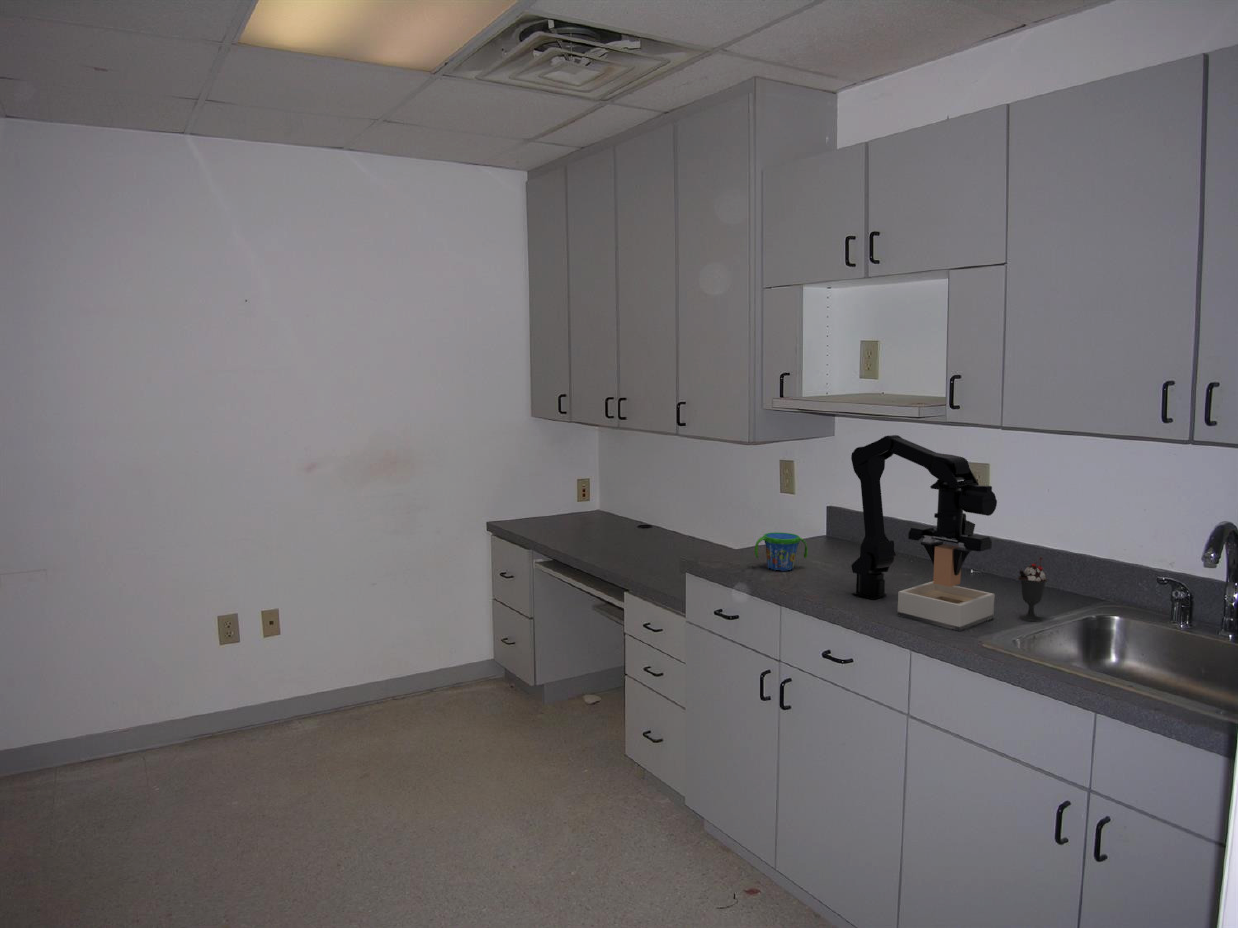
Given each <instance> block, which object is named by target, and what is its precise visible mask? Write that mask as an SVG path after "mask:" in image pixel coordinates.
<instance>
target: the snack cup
mask: <svg viewBox="0 0 1238 928" xmlns="http://www.w3.org/2000/svg"><path fill="white" fill-rule="evenodd" d="M762 541H764V544H765V545H764V546H765V555H766V562H767V564H766V565H767V568H768V569H769V568H771V569H770V570H772V569H774V570H773V571H776V570H781V571H780V572H785V571H788V570H790V571H791V569H792V570H793V569H794V566H795V562H796V555H797V551H798V546H799V543H800V541H801V542H802V543H803V544H804V547H805V548H804V553H803V558H804V559H807V558H808V553H809V548H808V545H807V542H806V540H804V539H803V538H801V537H800V536H799V535H798V534H796V533H791V532H778V531H777V532H776V531H775V532H768V533H764V534H763V536H761V537H759V539H758V540H757V541H756V543H755V545H754V555H755V558H756V559H758V558H759V555H758V553H759V543H761V542H762Z"/></svg>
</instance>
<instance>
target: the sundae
mask: <svg viewBox="0 0 1238 928" xmlns="http://www.w3.org/2000/svg"><path fill="white" fill-rule="evenodd" d="M1043 559H1044V558H1043V557H1039V559H1038V561H1039V563H1041V562H1042V560H1043ZM1038 561H1036V562H1035V563H1031V564H1030V566H1027V567H1026V568H1025V569H1024V570H1023V569H1020V570H1019V571H1018V572H1019V575H1018V576H1017V578H1018V580H1019V581H1020V584H1021V593H1022V594H1021V595H1022V599H1023V601H1024V602H1025V603H1026V604H1027V606H1028V609H1027V610H1028V611H1027V613H1026V614H1025V615H1024V614H1023V615H1020V616H1019V619H1020V620H1022V621H1024V622H1025V621H1026V622H1031V623H1032V622H1033V623H1037V622H1036V621H1040V622H1042V621H1041V619H1042V618H1041V617H1040V616H1037V615H1036V614H1035V610H1034V609H1035V605H1038V604H1039V603H1040V602H1041V601H1042V597H1043V594H1044V589H1045V585H1046V582H1048V581H1049V579H1048V578H1046V577H1047V576H1046V574H1045V572H1044V571H1043V567H1042V565H1041V564H1039V566H1037V564H1038Z"/></svg>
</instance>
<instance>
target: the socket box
mask: <svg viewBox="0 0 1238 928" xmlns="http://www.w3.org/2000/svg"><path fill="white" fill-rule="evenodd" d="M995 596H996V595H995V593H991V592H987V591H983V590H978V589H972V588H968V587H964V586H960V585H955V586H952V587H949V586H944V585H940V584H935V583H933V580H932V581H929V582H926V583H925V582H924V583H923V584H918V585H916V586H913V587H909V588H906V589H903V590H902V589H901V590H900V591H899V590H898V594H897V597H898V598H897V600H898V601H897V613H896V614H897V615H900V616H899V617H901V616H903V617H902V618H905V619H909V620H913V619H915V620H914V621H917V620H918V621H917V622H921V621H922V622H921V623H925V624H929V625H933V624H934V625H933V626H937V627H940V626H941V628H945V629H948V630H952V629H954V630H953V631H957V632H962V631H964V630H966V629H968V628H972V627H974V626H977V625H979V624H981V623H984V621H985V622H987V621H990V620H992V619H994V613H995ZM989 619H990V620H989ZM986 620H987V621H986ZM976 624H977V625H976ZM973 625H974V626H973ZM971 626H972V627H971ZM963 629H964V630H963Z"/></svg>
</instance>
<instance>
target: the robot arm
mask: <svg viewBox="0 0 1238 928" xmlns="http://www.w3.org/2000/svg"><path fill="white" fill-rule="evenodd" d="M894 455H896V456H898V457H900V458H903V459H904V460H906V461H909V462H912V463H914V464H916V465H917V466H921V467H923V468H924V469H926V470H927V471H928V472H929V474H930V475H931V476H932V477H934V478H936V479H937V480H936V481H935V482H934V483H933V484H931V485H930V489H932V490H938V495H937V510H936V511H937V512H936V513H934V516H933V517H934V518H935V519H936V529H934V527H932V526H925V525H918V526H913V527H910V528H909V529H908V531H907V532H908V533H907V539H908V540H911V541H917V542H919V541H921V540H922V541H921V542H920V545H921V546H923V547H924V549H925V550H926V552H927V555H928V556H929V558H930V561H931V563H932V566H934V555H935V546H939V545H943V544H944V543H945V542H946V543H947V542H948V543H953V544H958V548H955V549H954V574H955V575H958V574H959V572H960V570H961V571H962V567H963V565H964V564H965V561H966V559H967V557H968V555H969V554H970V553H971V552H983V551H987V550H991V549H992V545H993V543H992V540H991V537H989V536H986V535H980V534H974V532H975V527H976V523H974V522H971V521H970V520H967V515H966V513H970V514H976V515H981V516H987V517H989V516H991V515H993V514H994V512H995V510H996V508H997V504H998V500H997V497H996V494H995V492H993V486H992V485H981V484H979V482H978V480H977V478H976V477H975V475H974V473H973V471H972V470H971V468H970V464H969V460H968V459H966V458H965V457H963V456H958V455H953V454H947V453H942V452H941V453H940V452H936V451H933V450H931V449H929V448H926V447H924V446H923V445H922V446H921V445H919V444H918V443H916V442H915V443H914V442H912V441H910V440H908V439H905V438H903V437H902V436H900V435H897V434H893V435H891V434H890V435H885V436H883V437H881V438H879V439H878V440H876V441H874V442H871V443H869V444H866V445H864V446H858V447H856V448H855V449H854V450H853V451H852V453H851V455H850V456H851V464H852V468H853V472H854V474H856V477H857V478H858V479H859V482H860V491H861V503H862V512H863V513H862V514H863V515H862V516H863V523H864V524H863V525H864V538H862V539H863V540H862V542H861V544H860V551H859V557H858V558H857V559H856V560H855V561H854V562H852V564H850V566H851V567H850V568H851V571H852V573H853V574H856V579H855V580H856V586H855V591H853V592H852V593H851V594H852V595H853V596H856V597H860V598H866V599H870V600H877V599H880V598H882V597H885V596H887V593H886V592H885V587H886V580H885V579H884V575H885V573H888V572H889V570H890V569H889V568H890V566H892V565H893V563H894V559H895V557H896V556H897V554H896V552H895V541H894V540H893V539H892V540H889V539H888V537H887V536H886V533H885V521H884V511H883V499H882V489H881V488H882V487H881V477H882V475H883V473H884V471H885V467H886V466H885V465H886V460H887V459H890V458H891V457H893V456H894ZM964 512H965V513H964Z"/></svg>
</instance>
